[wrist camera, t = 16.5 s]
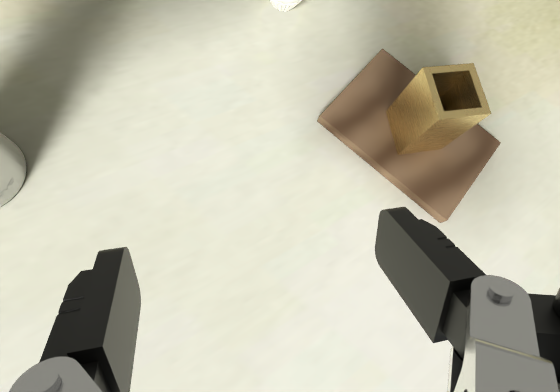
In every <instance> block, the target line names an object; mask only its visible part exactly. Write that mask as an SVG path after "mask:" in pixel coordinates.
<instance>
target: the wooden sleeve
mask: <svg viewBox="0 0 560 392" xmlns="http://www.w3.org/2000/svg"><path fill="white" fill-rule="evenodd" d="M386 114H387V118H388V121H389V125H390V129H391V132H392V136H393V140H394V143H395V147H396V150H397V154H398V155H400V154H408V153H416V152H424V151H432V150H439V149H442V148H443V147H445V146H446V145H448V144H449V143H451V142H452V141H453V140H455V139H456V138H458V137H459V136H460V135H462V134H463V133H465V132H466V131H467V130H469V129H470V128H472V127H473V126H474V125H476V124H477V123H479V122H480V121H481V120H483V119H484V118H486V117H487V116H488V115H490V114H491V111H490V109H489V106H488V103H487V100H486V97H485V94H484V92H483V89H482V86H481V83H480V80H479V77H478V75H477V72H476V69H475V66H474V63H470V64H458V65H446V66H434V67H423V68H422V69H421V70H420V71H419V73H418V74H417V75H416V76H415V77H414V79H413V80H412V81H411V82H410V83H409V84H408V86H407V87H406V88H405V89H404V90H403V92H402V93H401V94H400V95H399V96H398V98H397V99H396V100H395V101H394V102H393V104H392V105H391V106H390V107H389V108H388V110H387V111H386Z"/></svg>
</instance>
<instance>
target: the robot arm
mask: <svg viewBox="0 0 560 392" xmlns="http://www.w3.org/2000/svg"><path fill="white" fill-rule="evenodd" d="M25 176H26V160H25V158H24V155H23V153H22V151H21V150H20V148H19V147H18V146H17V145H16V144H15V143H13V142H12V141H11V140H10V139H8V138H7V137H6V136H4V135H3V134H2V133H0V207H1V206H3V205H4V204H6V203H7V202H8V201H10V200H11V199H12V198H13V197H14V196H15V195H16V194H17V192H18V191H19V189H20V188H21V186H22V184H23V182H24V179H25ZM375 254H376V259H377V261H378V264H379V266H380V267H381V269H382V270H383V271H384V273H385V274H386V276H387V277H388V279H389V280H390V282H391V283H392V284H393V286H394V287H395V289H396V290H397V292H398V293H399V295H400V296H401V297H402V299H403V300H404V302H405V303H406V305H407V306H408V307H409V309H410V310H411V312H412V313H413V315H414V316H415V318H416V319H417V320H418V322H419V323H420V325H421V326H422V328H423V329H424V331H425V332H426V333H427V335H428V336H429V338H430V339H431V341H432V342H433V343H436V342H440V341H445V340H449V342H450V343H451V344H452V348H451V351H450V361H449V374H448V387H447V392H560V289H559V291H558V293H557V295H556V296H554V295H540V294H527V292H526V291H525V290H524V289H523V288H522V287H520V286H519V285H518V284H516V283H514V282H512V281H510V280H508V279H505V278H502V277H499V276H493V275H486V274H485V273H484V272H483V271H482V270H480V269H479V268H478V267H477V266H476V265H475V264H474V263H473V262H472V261H471V260H470V259H469V258H468V257H467V256H466V255H465V254H464V253H463V252H462V251H461V250H460V249H459V248H458V247H455V244H454V243H453V242H452V241H450V240H449V239H447V237H446V236H445V235H444V234H443V233H442V232H441V231H440V230H439V229H438V228H437V227H436V226H434V225H432V224H430V223H428V222H426V221H424V220H422V219H420V220H418V219H417V218H416V217H415V216H414V215H413V214H412V213H411V212H410V211H409V210H408V209H407V208H406V207H399V208H393V209H386V210H382V211H381V212H380V215H379V221H378V229H377V236H376V244H375ZM140 307H141V296H140V288H139V284H138V280H137V277H136V273H135V270H134V266H133V263H132V259H131V256H130V252H129V250H128V248H127V247H122V248H116V249H109V250H102V251H99V252H98V254H97V257H96V261H95V264H94V267H93V269H92V270H85V271H81V272H80V273H79V274H78V275H77V276H76V277H75V278H74V280H73V281H72V282H71V283H70V284H69V285H68V288H67V290H66V293H65V296H64V298H63V302H62V304H61V306H60V309H59V315H57V317H56V320H55V322H54V325H53V327H52V330H51V333H50V335H49V338H48V341H47V343H46V346H45V349H44V351H43V354H42V357H41V359H40V362H39V363H38V364H36V365H34V366H33V367H31V368H30V369H28V370H27V371H26V372H25V373H23V374H22V375H21V376H20V377H19V378H18V379H17V380H16V382H15V383H14V384H13V386H12V388H11V389H10V391H9V392H130V384H131V377H132V369H133V361H134V354H135V346H136V338H137V331H138V323H139V315H140Z"/></svg>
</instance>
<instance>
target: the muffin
mask: <svg viewBox="0 0 560 392" xmlns="http://www.w3.org/2000/svg"><path fill="white" fill-rule="evenodd" d="M270 1H271V3H272V5H273V6H274V8H276V9H278V10H280V11H288V10H291V9H292V8H294V7H295V6H296V5H297V4H299V3H300V2H301V1H302V0H270Z"/></svg>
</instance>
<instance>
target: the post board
mask: <svg viewBox="0 0 560 392" xmlns="http://www.w3.org/2000/svg"><path fill="white" fill-rule="evenodd" d="M415 76H416V75H415V74H414V73H413V72H411V71H410V70H409V69H408V68H406V67H405V66H404V65H403V64H401V63H400V62H399V61H398V60H396V59H395V58H394V57H393V56H391V55H390V54H389V53H387V52H386V51H385V50H384V49H382V50H381V51H380V52H379V53H378V54H377V55H376V56H375V57H374V58H373V59H372V60H371V61H370V62H369V64H368V65H367V66H366V67H365V68H364V69H363V70H362V71H361V72H360V73H359V74H358V75H357V76H356V77H355V79H354V80H353V81H352V82H351V83H350V84H349V85H348V86H347V87H346V88H345V89H344V90H343V91H342V92H341V93H340V95H339V96H338V97H337V98H336V99H335V100H334V101H333V102H332V103H331V104H330V105H329V106H328V107H327V108H326V110H325V111H324V112H323V113H322V114H321V115H320V116H319V118H318V120H317V121H318V122H319V123H320V124H321V125H322V126H324V127H325V128H326V129H327V130H328V131H330V132H331V133H332V134H333V135H334V136H336V137H337V138H338V139H339V140H341V141H342V142H343V143H344V144H345V145H347V146H348V147H349V148H350V149H351V150H353V151H354V152H355V153H356V154H357V155H359V156H360V157H361V158H362V159H363V160H365V161H366V162H367V163H368V164H370V165H371V166H372V167H373V168H374V169H376V170H377V171H378V172H379V173H380V174H382V175H383V176H384V177H385V178H386V179H388V180H389V181H390V182H391V183H392V184H394V185H395V186H396V187H397V188H399V189H400V190H401V191H402V192H403V193H405V194H406V195H407V196H408V197H409V198H411V199H412V200H413V201H414V202H415V203H417V204H418V205H419V206H420V207H421V208H423V209H424V210H425V211H426V212H428V213H429V214H430V215H431V216H432V217H434V218H435V219H436V220H437V221H438V222H440V223H441V222H444V221H447V220H448V218H449V217H450V215H451V214H452V212H453V211H454V210H455V208H456V207H457V205H458V204H459V202H460V201H461V199H462V198H463V197H464V195H465V194H466V192H467V191H468V189H469V188H470V186H471V185H472V184H473V182H474V181H475V179H476V178H477V176H478V175H479V173H480V172H481V171H482V169H483V168H484V166H485V165H486V163H487V162H488V160H489V159H490V158H491V156H492V155H493V153H494V152H495V150H496V149H497V147H498V146H499V145H500V143H501V142H499V141H498V140H497V139H496V138H494V137H493V136H492V135H491V134H489V133H488V132H487V131H486V130H484V129H483V128H482V127H481V126H479V125H478V124H476V125H474V126H473V127H472V128H470V129H469V130H467V131H466V132H465V133H463V134H462V135H460V136H459V137H458V138H456V139H455V140H453V141H452V142H451V143H449V144H448V145H446V146H445V147H443V148H442V149H439V150H432V151H424V152H416V153H408V154H400V155H398V154H397V150H396V147H395V143H394V140H393V136H392V132H391V129H390V125H389V121H388V118H387V114H386V111H387V110H388V108H389V107H390V106H391V105H392V104H393V102H394V101H395V100H396V99H397V98H398V96H399V95H400V94H401V93H402V92H403V90H404V89H405V88H406V87H407V86H408V84H409V83H410V82H411V81H412V80H413V79H414V77H415Z"/></svg>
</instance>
